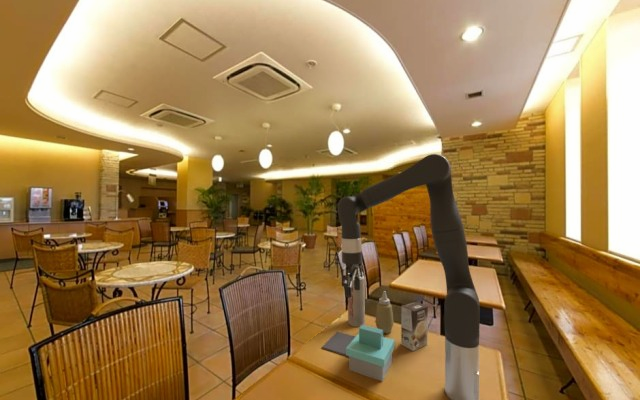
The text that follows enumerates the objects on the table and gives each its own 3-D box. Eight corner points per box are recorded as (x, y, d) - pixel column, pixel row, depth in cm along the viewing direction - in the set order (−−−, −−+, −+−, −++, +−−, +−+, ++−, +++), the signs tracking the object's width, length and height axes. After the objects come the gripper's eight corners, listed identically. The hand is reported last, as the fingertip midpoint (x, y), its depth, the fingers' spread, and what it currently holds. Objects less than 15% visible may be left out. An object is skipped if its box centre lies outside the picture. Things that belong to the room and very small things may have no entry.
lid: (394, 346, 100) (394, 325, 100) (384, 367, 88) (384, 343, 88) (360, 337, 107) (360, 317, 106) (346, 355, 95) (346, 332, 95)
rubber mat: (366, 340, 114) (366, 339, 114) (354, 358, 102) (354, 357, 102) (337, 332, 121) (337, 331, 121) (321, 348, 109) (321, 346, 109)
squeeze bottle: (394, 336, 118) (394, 295, 117) (375, 334, 119) (375, 294, 119) (393, 327, 126) (393, 288, 125) (375, 325, 127) (375, 287, 127)
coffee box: (413, 351, 106) (413, 311, 106) (400, 344, 111) (400, 305, 111) (428, 344, 111) (428, 306, 111) (415, 337, 116) (415, 300, 116)
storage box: (392, 361, 100) (392, 343, 100) (382, 381, 89) (382, 360, 89) (361, 352, 106) (361, 334, 106) (349, 370, 95) (349, 350, 95)
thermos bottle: (352, 327, 125) (352, 268, 125) (345, 320, 133) (345, 263, 132) (367, 325, 128) (367, 266, 127) (360, 317, 135) (360, 262, 135)
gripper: (353, 254, 92) (355, 301, 92) (367, 247, 105) (369, 288, 105) (334, 253, 96) (335, 298, 96) (349, 246, 108) (351, 286, 108)
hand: (353, 293), depth 100 cm, fingers open, 8 cm apart
